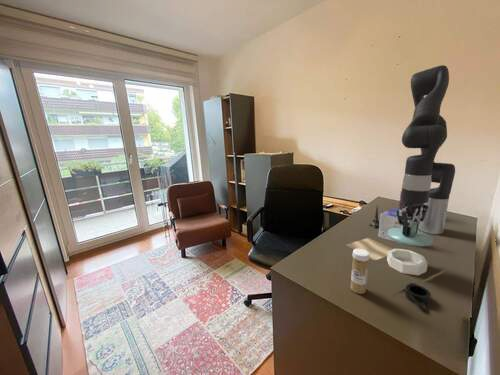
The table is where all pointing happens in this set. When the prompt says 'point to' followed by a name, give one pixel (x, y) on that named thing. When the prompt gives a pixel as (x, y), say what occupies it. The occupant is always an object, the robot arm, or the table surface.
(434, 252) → the table surface
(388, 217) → the ink cartridge box
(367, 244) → the mat
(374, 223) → the eiffel tower figurine
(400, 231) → the lid
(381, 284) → the table surface
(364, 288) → the sprinkles bottle
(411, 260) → the bowl
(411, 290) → the duct tape
